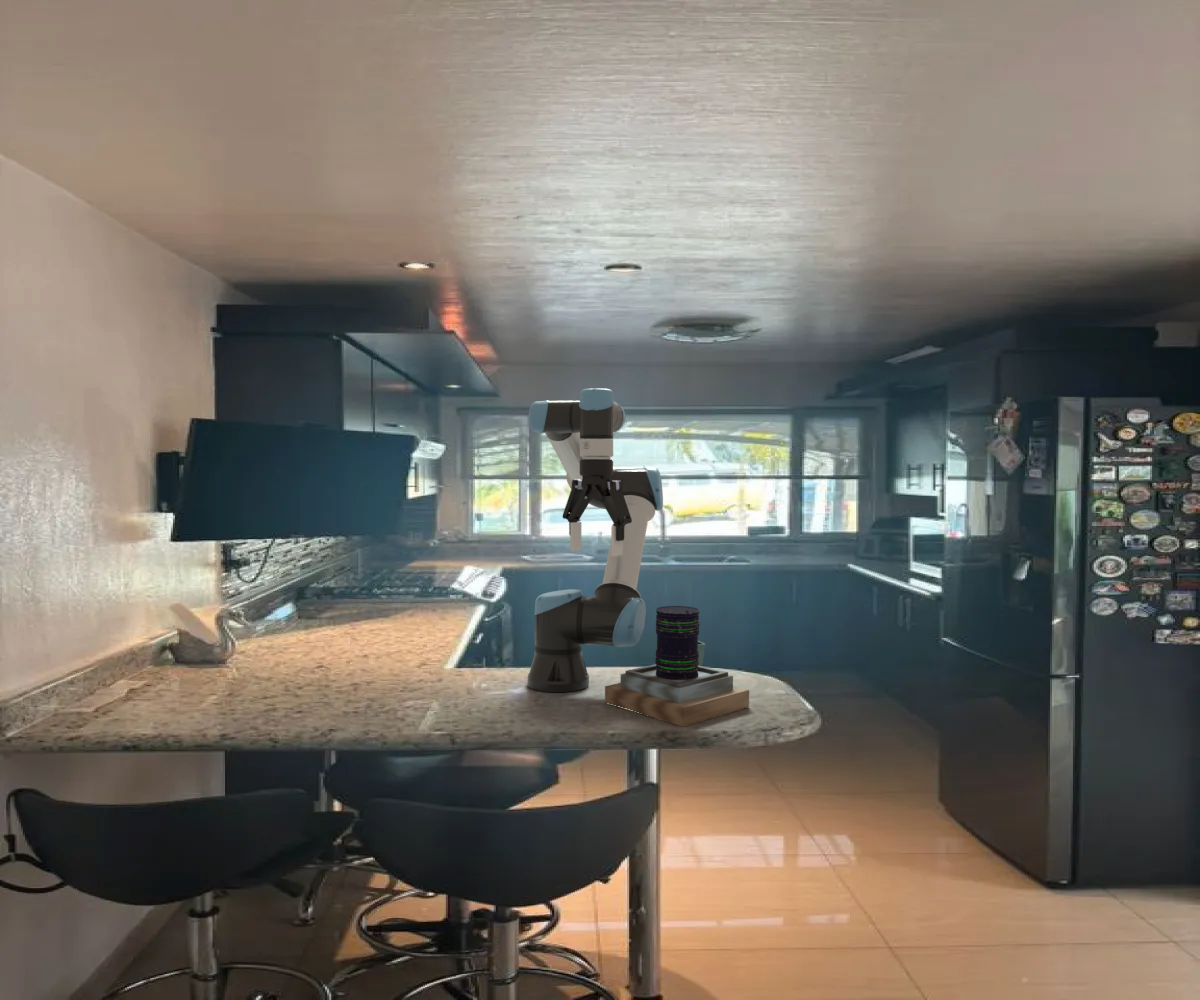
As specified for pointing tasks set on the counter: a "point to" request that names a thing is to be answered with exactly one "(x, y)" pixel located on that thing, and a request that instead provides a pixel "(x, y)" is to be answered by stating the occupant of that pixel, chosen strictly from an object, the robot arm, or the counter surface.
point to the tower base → (679, 708)
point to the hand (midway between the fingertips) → (595, 553)
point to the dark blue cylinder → (677, 642)
